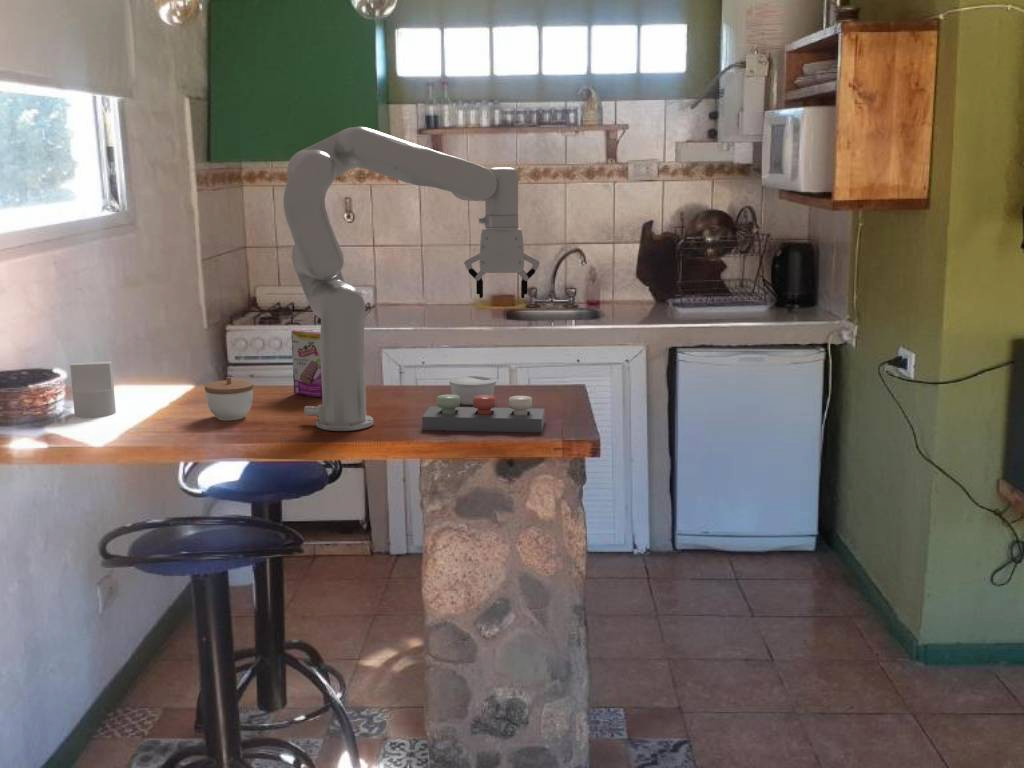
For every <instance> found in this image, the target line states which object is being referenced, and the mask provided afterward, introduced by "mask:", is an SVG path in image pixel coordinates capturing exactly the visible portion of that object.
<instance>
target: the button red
mask: <svg viewBox="0 0 1024 768" xmlns="http://www.w3.org/2000/svg"><path fill="white" fill-rule="evenodd" d="M496 400H497V398H496V396H494V395H493V396H491V395H479V396H474V397H473V405H472V407H474V408H477V409H478V415H491V408H497V405H496V404H497V403H496Z"/></svg>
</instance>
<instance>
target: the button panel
mask: <svg viewBox="0 0 1024 768" xmlns="http://www.w3.org/2000/svg"><path fill="white" fill-rule="evenodd" d="M545 419H546V409H545V408H536V407H535V408H533V407H532V408H530V409H527V416H524V415H514V409H511V408H509V407H494V408H491V415H478V409H477V408H474V407H473V406H472V407H471V406H459V407H456V408H455V414H442V408H440V407H437V406H434V405H433V406H429V407H428V409H427V410H426V411H425V413H424V414H423V415H422V417H421V422H422V427H421V428H422V431H442V430H445V431H446V432H451V431H453V432H496V433H497V432H498V433H507V432H508V433H542V432H543V429H544V426H545V423H546V420H545Z"/></svg>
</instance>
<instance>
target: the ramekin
mask: <svg viewBox="0 0 1024 768" xmlns="http://www.w3.org/2000/svg"><path fill="white" fill-rule="evenodd" d="M496 385H497V381H496V379H494V378H492V377H488V376H478V375H466V376H465V375H464V376H457V377H453V378H451V379H450V380H449V386H450V390H451V395H458V396H460V405H468V406H473V397H474V396H479V395H491V396H494V392H495V386H496Z"/></svg>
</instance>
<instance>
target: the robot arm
mask: <svg viewBox="0 0 1024 768" xmlns="http://www.w3.org/2000/svg"><path fill="white" fill-rule="evenodd" d="M355 168H361V169H363V170H367V171H370V172H373V173H376V174H379V175H382V176H385V177H388V178H392V179H395V180H397V181H400V182H402V183H407V184H411V185H413V186H414V185H415V186H419V187H420V186H421V187H429V188H434V189H439V190H443V191H447V192H450V193H451V194H452V195H453V196H454V197H456V198H457V199H459V200H462V201H469V202H472V201H473V202H485V204H484V206H485V207H484V209H485V213H484V214H485V215H484V216H482V217H479V218H478V223H479V224H482V225H483V226H484V227H485V228H482V230H481V234H480V240H479V241H480V244H479V253H477V254H475V255H474V256H471V257H470V258H468V259H466V260H464V266H465V268H466V270H467V272H468V273H469V274H470V275H471V277H472V278H474V280H475V281H476V295H478V296H479V299H482V298H484V280H483V277H484V276H485V274H486V273H487V274H518V275H519V276H520V277H521V281H520V282H521V283H520V285H521V287H520V297H521V299H525V295H528V281H529V279H530V278H531V277H532V276H533V275H535V274H536V272H537V270H538V267H540V266H539V265H540V263H541V262H540V261H539V260H538V259H536V258H534V257H532V256H530V255H529V254H526V253H525V249H524V246H525V245H524V236H523V231H522V228H519V172H518V170H517V169H516V168H513V167H490V168H488V167H485V166H483V165H481V164H478V163H475V162H472V161H469V160H466V159H463V158H460V157H456V156H455V155H450V154H447V153H444V152H441V151H439V150H438V151H437V150H434V149H432V148H429V147H426V146H422V145H419V144H417V143H414V142H410V141H408V140H405V139H401V138H398V137H396V136H393V135H390V134H388V133H384V132H381V131H379V130H375V129H373V128H370V127H366V126H354V127H347V128H345V129H342V130H340V131H338V132H336V133H334V134H332V135H331V136H329V137H326V138H324V139H322V140H320V141H318V142H316V143H314V144H312V145H310V146H308V147H306V148H304V149H301V150H299V151H297V152H296V153H295V154H293V155H292V156H291V157H290V159H289V161H288V164H287V169H286V171H287V175H288V180H287V181H286V185H285V188H284V194H283V211H284V216H285V218H286V222H287V225H288V227H289V231H290V234H291V236H292V239H293V242H294V245H293V246H292V249H291V260H292V266H293V268H294V271H295V273H296V276H297V278H298V281H299V284H300V286H301V289H302V290H303V292H304V293H303V294H304V295H305V298H306V301H307V303H308V306H309V307H310V309H311V311H312V312H313V314H314V315H315V316H316V317H317V318H319V319H320V330H321V331H320V357H321V380H322V398H321V399H322V400H321V401H322V404H319V405H318V406H313V405H305V406H304V411H303V412H304V415H306V417H317V418H318V419H316V421H315V424H316V425H315V426H316V428H319V429H320V430H324V431H331V432H350V431H351V432H352V431H359V430H364V429H367V428H369V427H372V425H374V418H373V417H372V416H371V415H367V397H366V396H367V395H366V371H365V370H366V367H365V366H366V364H365V362H366V361H365V360H366V359H365V325H366V303H365V300H364V298H363V295H362V294H361V292H360V291H359V290H358V288H356V287H355V286H353V285H351V284H349V283H346V281H345V278H344V275H343V273H342V269H343V267H344V261H345V260H344V258H345V257H344V253H343V251H342V249H341V245H340V243H339V241H338V238H337V237H336V235H335V231H334V229H333V226H332V224H331V222H330V221H331V220H330V218H329V216H328V213H327V212H328V211H327V208H326V196H327V192H328V190H329V188H330V187H331V186H332V184H333V183H334V181H335V179H336V178H337V177H340V176H341V175H344V174H345V173H347V172H350V170H353V169H355ZM478 261H479V271H478V272H477V271H476V270H475V269H474V267H473V265H472V264H474V263H476V262H478ZM525 261H526V262H528V263H530V264H531V265H532V266H531V268H530V269H528V271H527V272H526V271H525V270H524V268H525Z"/></svg>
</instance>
